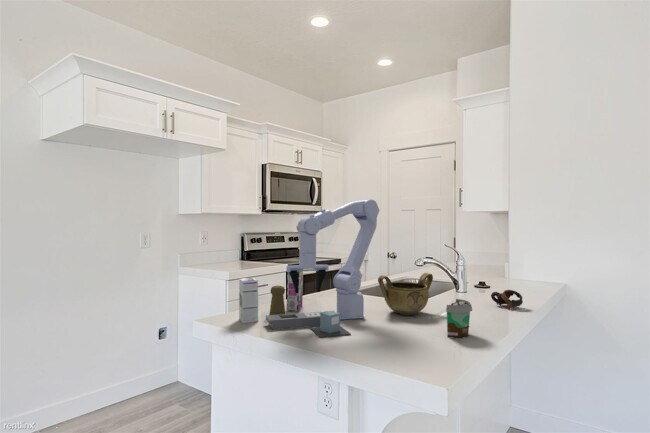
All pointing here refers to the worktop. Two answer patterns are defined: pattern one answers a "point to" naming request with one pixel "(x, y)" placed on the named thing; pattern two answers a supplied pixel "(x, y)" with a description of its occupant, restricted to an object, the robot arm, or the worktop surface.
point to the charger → (330, 321)
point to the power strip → (294, 320)
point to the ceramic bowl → (406, 294)
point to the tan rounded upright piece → (277, 300)
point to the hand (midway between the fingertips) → (307, 292)
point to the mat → (325, 334)
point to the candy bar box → (294, 298)
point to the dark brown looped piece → (507, 298)
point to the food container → (458, 318)
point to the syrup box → (248, 300)
